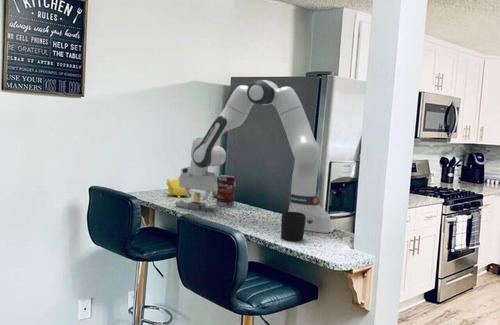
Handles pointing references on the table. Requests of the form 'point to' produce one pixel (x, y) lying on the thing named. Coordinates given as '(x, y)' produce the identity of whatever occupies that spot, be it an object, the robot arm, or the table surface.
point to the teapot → (175, 187)
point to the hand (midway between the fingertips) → (197, 198)
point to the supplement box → (226, 191)
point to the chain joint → (197, 206)
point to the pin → (197, 198)
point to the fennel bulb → (216, 190)
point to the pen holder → (292, 226)
